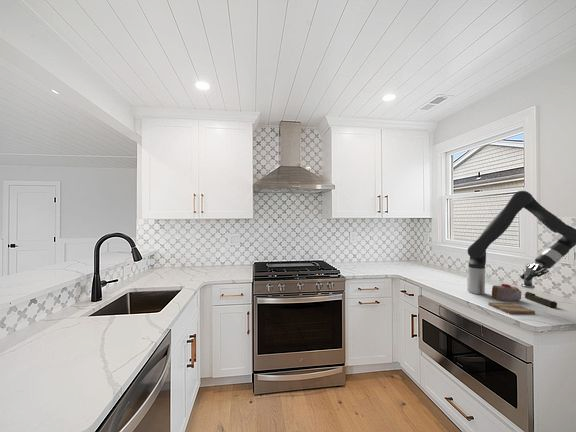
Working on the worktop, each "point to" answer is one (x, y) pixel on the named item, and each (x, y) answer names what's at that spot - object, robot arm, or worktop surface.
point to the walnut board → (511, 308)
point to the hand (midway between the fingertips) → (524, 278)
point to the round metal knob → (526, 283)
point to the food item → (506, 293)
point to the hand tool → (540, 300)
